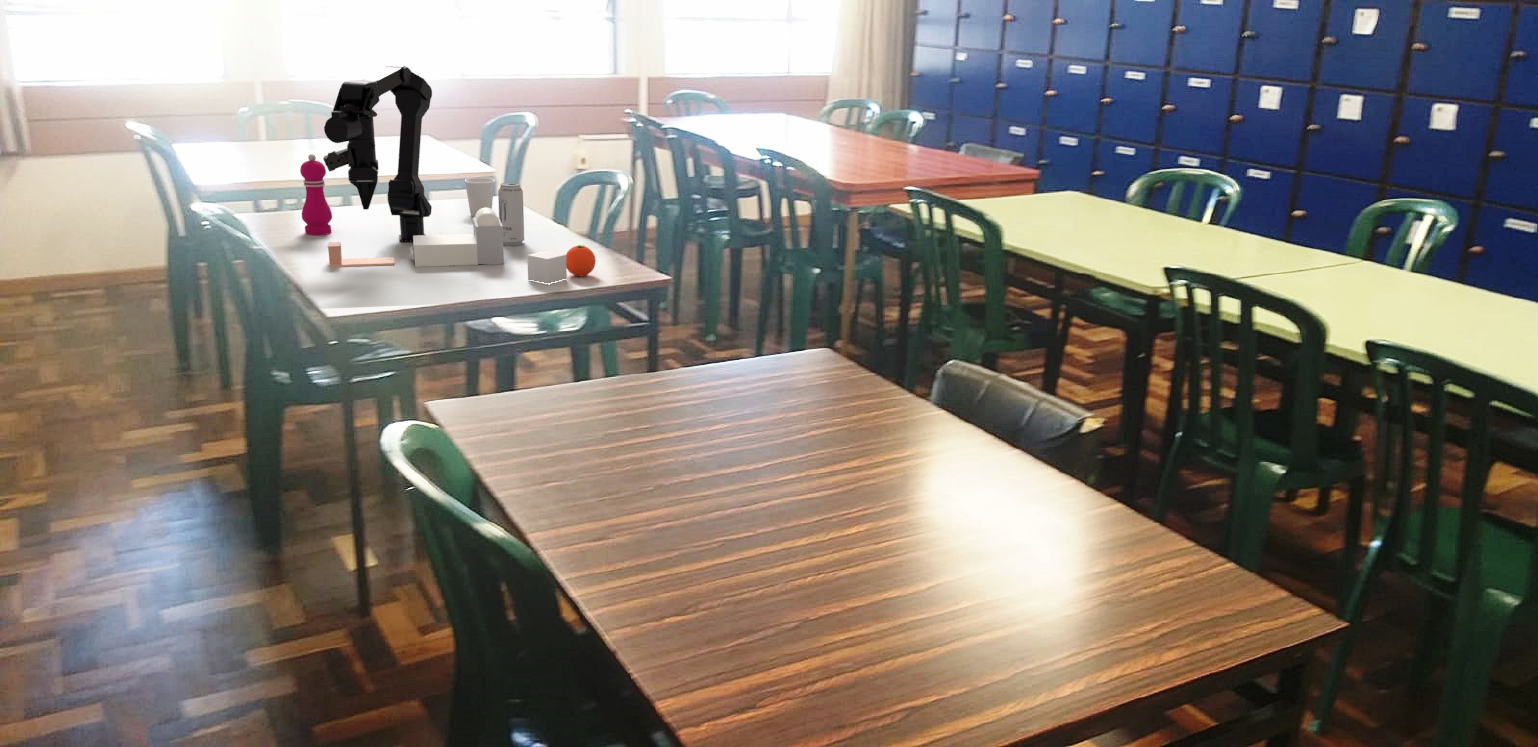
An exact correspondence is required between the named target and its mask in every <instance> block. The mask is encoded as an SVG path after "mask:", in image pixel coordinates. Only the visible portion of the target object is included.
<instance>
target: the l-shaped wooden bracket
mask: <svg viewBox="0 0 1538 747" xmlns="http://www.w3.org/2000/svg"><path fill="white" fill-rule="evenodd" d="M327 249H328V250H327V251H328V259H329V260H328V261H329V268H342V267H344V268H348V267H350V268H351V267H375V266H376V267H377V266H378V267H379V266H382V267H383V266H395V257H393V256H392V257H391V256H390V257H367V258H366V257H364V258H363V257H362V258H361V257H360V258H343V256H342V255H343V254H342V245H341V241H329V242H328V245H327Z"/></svg>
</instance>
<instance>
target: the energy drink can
mask: <svg viewBox="0 0 1538 747" xmlns="http://www.w3.org/2000/svg"><path fill="white" fill-rule="evenodd" d="M497 192H498V194H497V195H498V196H497V198H498V217H499V219H500V221H501V223H502V226H503V246H511V247H512V246H515V247H516V246H520V245H522V244H523V242H524V241H525V223H524V222H525V217H524V190H523V189H522V187H521V184H520V183H517V182H502V183H500V186H499V189H498V191H497Z"/></svg>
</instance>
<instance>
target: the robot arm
mask: <svg viewBox="0 0 1538 747" xmlns="http://www.w3.org/2000/svg"><path fill="white" fill-rule="evenodd" d="M389 91H390V92H391V93H392V95H394V98H395V100H394V101H395V102H394V103H395V106H396V107H397V109H398V111H399V113H400V116H401V117H400V128H399V129H400V130H399V131H400V132H399V148H398V160H397V162H398V163H397V174H396V175H395V177H394V178H393V179H389V180H388V191H387V203H388V206H389V207H388V208H389V210H390V213H391V216H398V217H399V225H400V226H399V228H400V229H399V230H400V234H399V235H398V239H399V242H400V243H401V242H413V236H416V235H427V234H425V224H424V218H427V217H430V215H432V208H433V206H432V205H431V203H430V202H429V200H428V198H427V197H426V196H425V187H424V185H423V183H422V181H421V179H420V177H419V172H420V171H419V170H420V169H419V168H420V154H421V139H422V138H421V136H422V122H423V117H424V116H425V114H426V113H427V112H428V111H429V109H430V106H431V100H432V97H433V89H432V87H431V86H430V85H429V83H428V82H427V81H426V79H424V78H423V77H422V76H420V75H418V74H416V73H414V72H413V71H412V70H411V69H410V68H409V67H407V66H405V65H395V64H390V65H387V66H385V68H384V69H382V70H380V71H378V72H376V73H374V74H372V75H371V76H369V77H367V78H365V79H356V80H355V79H354V80H348V81H343V82H342V84H341V85H340V88H339V90H338V93H337V97H336V99H335V102H334V105H333V110H332V111H331V114H330V115H331V117H329V118H327V120H326V121H325V124H324V126H323V128H324V129H323V131H324V134H325V136H326V137H327V139H328V140H329V141H330V142H332V143H334V144H340V143H346V142H347V145H346V146H347V148H344V149H341V150H338V151H335V150H333V151H332V152H328V153H327V154H326V155H324V156H323V157H322V158H323V161H324V166H325V167H327V170H328V172H333V171H335V170H336V169H338V168H339V169H340V168H342V167H346V166H348V168H349V169H348V172H347V175H348V181H349V183H350V184H351V185H353V186H354V187H355V188H356V189H357V192H358V195H359V196H358V197H359V199H360V202H361V205H362V209H363V210H369V208H370V206H371V204H372V199H373V196H374V194H375V190H376V187H377V184H378V181H379V178H378V176H379V175H378V174H379V161H378V159H377V155H376V141H375V127H374V126H375V125H374V118H375V117H377V116H378V113H377V112H376V111H375V110H374V109H373V108H374V107H375V106H376V105H377V104H378V103H379V102H380V96H382V95H384V94H386V93H388V92H389Z"/></svg>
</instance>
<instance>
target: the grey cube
mask: <svg viewBox="0 0 1538 747" xmlns="http://www.w3.org/2000/svg"><path fill="white" fill-rule="evenodd" d="M567 277H568V276H567V268H566V253H560V252H559V253H558V252H555V251H549V250H544V251H539V252H535V253H531V254H527V281H528V280H534V281H539V282H544V283H551V282H555V281H559V280H562V279H566V278H567ZM567 279H568V278H567Z"/></svg>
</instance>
